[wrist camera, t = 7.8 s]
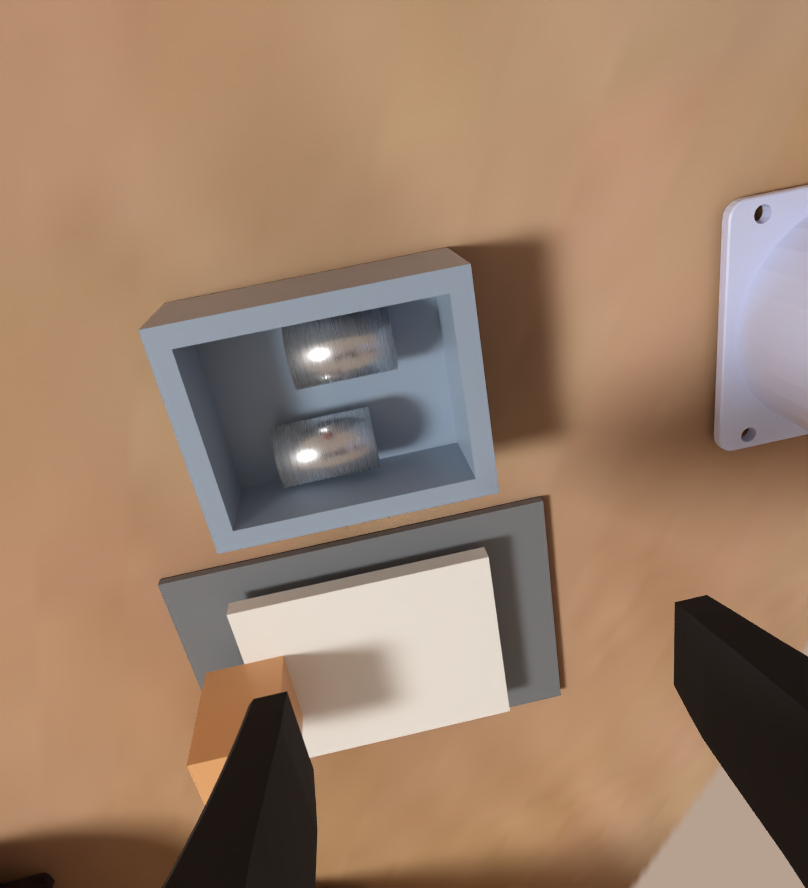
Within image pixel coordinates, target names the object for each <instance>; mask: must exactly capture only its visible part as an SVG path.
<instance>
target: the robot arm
mask: <svg viewBox="0 0 808 888" xmlns="http://www.w3.org/2000/svg"><path fill="white" fill-rule="evenodd" d="M759 206H762V208H763V213H762V216H761V217H760V219H759V220H758V221H755V219H754V214H755V210H756V209H757V208H758V207H759ZM747 428H749V430H748V433H747V434H746V435H745V436H743V437H741V435H742V432H743V431H744V430H745V429H747ZM807 434H808V185H803V186H798V187H793V188H788V189H783V190H778V191H773V192H768V193H763V194H758V195H753V196H748V197H743V198H739V199H736V200H734V201H732V202H731V203H730V204H729V205H728V206H727V208H726V210H725V211H724V214H723V219H722V239H721V265H720V291H719V317H718V343H717V369H716V395H715V420H714V440H715V443H716V444H717V445H718V446H719V447H721V448H722V449H724V450H727V451H733V450H738V449H743V448H747V447H752V446H756V445H761V444H765V443H770V442H775V441H779V440H784V439H788V438H793V437H798V436H802V435H807ZM674 686H675V688H676V690H677V692H678V693H679V695H680V697H681V699H682V701H683V703H684V705H685V707H686V709H687V711H688V713H689V714H690V716H691V718H692V720H693V722H694V723H695V725H696V727H697V729H698V731H699V732H700V734H701V736H702V738H703V739H704V741H705V742H706V744H707V745H708V747H709V748H710V750H711V751H712V753H713V754H714V755H715V757H716V758H717V760H718V761H719V763H720V764H721V766H722V767H723V768H724V770H725V771H726V773H727V774H728V776H729V777H730V779H731V780H732V781H733V783H734V784H735V786H736V787H737V788H738V790H739V791H740V793H741V794H742V795H743V797H744V799H745V800H746V801H747V803H748V804H749V806H750V807H751V808H752V810H753V811H754V812H755V814H756V816H757V817H758V818H759V820H760V821H761V823H762V824H763V826H764V827H765V828H766V830H767V831H768V833H769V834H770V836H771V837H772V839H773V840H774V841H775V843H776V844H777V845H778V847H779V848H780V850H781V851H782V853H783V854H784V856H785V857H786V859H787V860H788V861H789V863H790V865H791V866H792V868H793V869H794V871H795V872H796V874H797V875H798V877H799V879H800V880H801V881H802V883H803V885H804V886H805V888H808V657H807V656H806V655H804V654H803V653H801V652H799V651H798V650H796V649H794V648H793V647H791V646H789V645H788V644H786V643H784V642H783V641H781V640H779V639H778V638H776V637H774V636H773V635H771V634H770V633H768V632H766V631H765V630H763V629H761V628H760V627H758V626H756V625H755V624H753V623H752V622H750V621H748V620H747V619H745V618H744V617H742V616H740V615H739V614H737V613H736V612H734V611H732V610H731V609H729V608H727V607H726V606H724V605H723V604H721V603H719V602H718V601H716V600H714V599H713V598H711V597H709V596H707V595H705V596H701V597H696V598H692V599H687V600H683V601H679V602H675V635H674ZM316 851H317V816H316V799H315V784H314V770H313V767H312V764H311V761H310V758H309V755H308V752H307V749H306V746H305V743H304V740H303V737H302V734H301V731H300V728H299V725H298V722H297V719H296V716H295V713H294V710H293V707H292V704H291V701H290V698H289V695H288V692H287V691H286V692H281V693H277V694H273V695H268V696H264V697H260V698H255V699H253V700H252V702H251V703H250V704H249V706H248V709H247V711H246V714H245V716H244V719H243V721H242V724H241V726H240V729H239V731H238V734H237V736H236V739H235V741H234V743H233V746H232V748H231V750H230V753H229V755H228V757H227V760H226V762H225V764H224V766H223V769H222V771H221V773H220V775H219V777H218V780H217V782H216V784H215V786H214V788H213V790H212V792H211V794H210V796H209V799H208V801H207V803H206V805H205V807H204V809H203V811H202V813H201V815H200V817H199V819H198V821H197V823H196V825H195V827H194V829H193V831H192V833H191V835H190V837H189V839H188V840H187V842H186V844H185V846H184V848H183V850H182V852H181V854H180V856H179V857H178V859H177V861H176V863H175V865H174V867H173V869H172V871H171V873H170V874H169V876H168V878H167V880H166V881H165V883H164V885H163V887H162V888H315V877H316Z"/></svg>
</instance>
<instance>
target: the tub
mask: <svg viewBox="0 0 808 888" xmlns="http://www.w3.org/2000/svg"><path fill="white" fill-rule="evenodd" d="M385 306H386V308H387V312H388V316H389V320H390V324H391V329H392V333H393V338H394V343H395V349H396V355H397V362H398V369H397V370H392V371H387V372H382V373H378V374H373V375H368V376H363V377H358V378H353V379H349V380H344V381H339V382H334V383H329V384H324V385H320V386H315V387H310V388H305V389H300V390H296V388H295V386H294V383H293V380H292V377H291V374H290V370H289V366H288V362H287V358H286V354H285V349H284V344H283V338H282V330H281V327H285V326H290V325H295V324H300V323H305V322H310V321H315V320H320V319H325V318H330V317H335V316H340V315H345V314H350V313H355V312H360V311H365V310H370V309H375V308H380V307H385ZM138 331H139V334H140V337H141V340H142V343H143V345H144V348H145V351H146V354H147V357H148V360H149V362H150V365H151V368H152V371H153V374H154V376H155V379H156V382H157V385H158V388H159V391H160V393H161V396H162V399H163V402H164V405H165V407H166V410H167V413H168V416H169V419H170V421H171V424H172V427H173V430H174V433H175V436H176V438H177V441H178V444H179V447H180V450H181V452H182V455H183V458H184V461H185V464H186V466H187V469H188V472H189V475H190V478H191V481H192V483H193V486H194V489H195V492H196V495H197V497H198V500H199V503H200V506H201V509H202V511H203V514H204V517H205V520H206V523H207V526H208V528H209V531H210V534H211V537H212V540H213V542H214V545H215V548H216V551H217V554H220V553H225V552H229V551H234V550H239V549H243V548H248V547H252V546H257V545H262V544H266V543H271V542H275V541H280V540H285V539H289V538H294V537H298V536H303V535H308V534H312V533H317V532H321V531H326V530H331V529H335V528H340V527H344V526H349V525H354V524H358V523H363V522H367V521H372V520H377V519H381V518H386V517H390V516H395V515H400V514H404V513H409V512H413V511H418V510H423V509H427V508H432V507H436V506H441V505H446V504H450V503H455V502H459V501H464V500H469V499H473V498H478V497H483V496H487V495H492V494H496V493H499V488H498V480H497V471H496V463H495V455H494V447H493V439H492V431H491V423H490V415H489V407H488V399H487V391H486V383H485V374H484V366H483V358H482V350H481V342H480V334H479V326H478V318H477V310H476V302H475V294H474V285H473V277H472V269H471V263H469V262H468V261H466V260H465V259H463V258H462V257H460V256H459V255H458V254H456V253H455V252H453V251H452V250H450V249H449V248H447V247H446V248H441V249H436V250H431V251H426V252H421V253H416V254H411V255H406V256H401V257H396V258H390V259H385V260H380V261H375V262H370V263H365V264H360V265H355V266H350V267H345V268H340V269H335V270H330V271H325V272H320V273H315V274H310V275H305V276H300V277H295V278H290V279H285V280H279V281H274V282H269V283H264V284H259V285H254V286H249V287H244V288H239V289H234V290H229V291H224V292H219V293H214V294H209V295H204V296H199V297H194V298H189V299H184V300H179V301H173V302H168V303H164V304H163V305H162V306H161V307H160V308H159V309H158V310H157V311H156V312H155V313H154V314H153V315H152V316H151V317H150V318H149V319H148V321H147V322H146V323H145V324H144V325H143V326H142V327H141V328H140V329H139V330H138ZM364 407H368V408H369V413H370V417H371V422H372V427H373V431H374V436H375V441H376V445H377V450H378V455H379V460H380V465H381V467H380V468H376V469H371V470H366V471H362V472H357V473H352V474H348V475H343V476H338V477H334V478H329V479H324V480H320V481H315V482H310V483H305V484H301V485H296V486H291V487H287V488H285V487H284V486H283V484H282V481H281V479H280V476H279V473H278V469H277V466H276V461H275V457H274V452H273V446H272V437H271V429H272V427H273V426H278V425H283V424H287V423H292V422H297V421H302V420H307V419H311V418H316V417H321V416H326V415H330V414H335V413H340V412H345V411H350V410H354V409H359V408H364Z"/></svg>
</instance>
